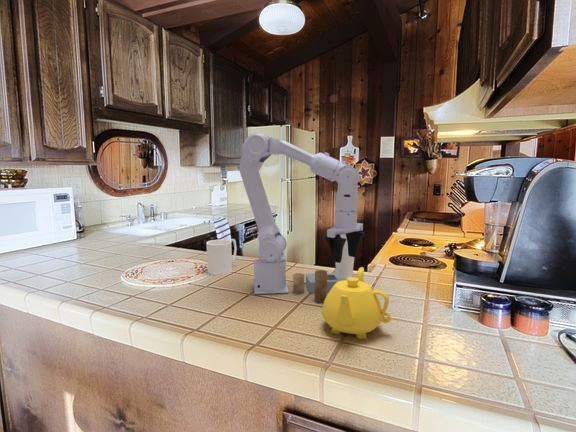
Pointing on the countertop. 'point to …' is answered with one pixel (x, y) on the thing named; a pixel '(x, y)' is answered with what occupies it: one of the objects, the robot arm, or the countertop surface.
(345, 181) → the robot arm
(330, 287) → the socket block
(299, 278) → the oak stub
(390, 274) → the countertop surface
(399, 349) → the countertop surface
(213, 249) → the cup
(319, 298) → the walnut dowel
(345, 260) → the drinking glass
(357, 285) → the teapot
